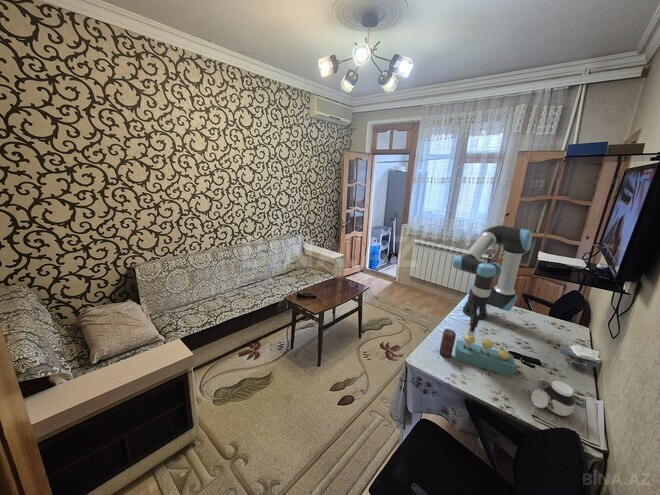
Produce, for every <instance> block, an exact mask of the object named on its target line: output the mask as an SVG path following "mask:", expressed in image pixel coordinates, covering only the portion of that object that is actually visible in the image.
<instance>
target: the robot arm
mask: <svg viewBox="0 0 660 495" xmlns="http://www.w3.org/2000/svg"><path fill="white" fill-rule="evenodd" d="M532 243H533V233H532V231H531V230H528V229H525V228H519V227H512V226H506V225H494V226H491V227H489V228H487V229H484V230H482V231H481V233H480V234H479V235H478V239H477V240H476V241H475V242H474V243H473V244H472V245H471V246H470V248H469V249H468V250H467V251H466V252H465V253H464V254H463V255H456V256H455V257H454V258H453V262H452V267H453V268H454V269H457V270H459V271H461V272H462V271H463V272H466V273H469V274H472V275H475V278H474V281H472V283H471V285H470V288H469V293H468V296H467V300H466V302H465V303H464V305H463V306H462V312H463V314H465V315H466V316H467V315H468V316H467V317H469V318H470V322H469V323H468V331H467V334H468V336H471V337H475V333H476V329H477V327H478V324H479V320H484V319H487V317H488V309H487V305H488V306H492V307H494V308H498V309H500V310H501V311H502V310H503V311H506V312H510V311H511V310H512V309H513V308H514V305H515V303H516V302H517V299H518V297H519V296H518V295H517V294H516V290H515V289H514V288H515V284H516V279H517V276H518V275H517V274H518V271H519V268H520V264H521V260H522V256H523V255H525V254H526V253H527V252H529V251H530V250H531V248H532ZM494 245H499V246H502V250H503V251H504V255H503V258H502V259H503V260H502V264H501V265H500V263H497V262H486V261H483V260H481V258H482V257H483V256H484V254H485V253H486V252H487V251H488V250H489V248H490V247H492V246H494ZM497 278H498V282H497V284H496V285H495V286H493V282H494V280H496V279H497ZM492 286H493V287H492ZM470 316H471V317H470Z"/></svg>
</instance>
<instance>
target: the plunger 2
mask: <svg viewBox="0 0 660 495" xmlns="http://www.w3.org/2000/svg"><path fill="white" fill-rule="evenodd" d="M497 351H498V356H499V359H502V360H505V361H506V360H508V359H509V356H510V354H511V353H509V352H508V351H507V350H504V349H499V350H497Z"/></svg>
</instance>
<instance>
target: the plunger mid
mask: <svg viewBox="0 0 660 495" xmlns="http://www.w3.org/2000/svg"><path fill="white" fill-rule="evenodd" d="M481 340H482V341H481V346H482V347H483V349H482V352H481V354H484V355H488V351H489V348H490V349H493V346H494V342H493V341H492V340H490V339H487V338H482V339H481Z"/></svg>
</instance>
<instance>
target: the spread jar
mask: <svg viewBox="0 0 660 495" xmlns="http://www.w3.org/2000/svg"><path fill="white" fill-rule="evenodd" d="M573 394H574V389H573V388H572V387H571V386H570V385H569V384H567V383H565V382H562V381H559V380H553V381H552V383H551V384H548V385H546V386H545V387H544V388H543V390H540V389H536V390H533V391H532V393H531V397H530V399H531V402H532V405H534V406H535V407H537V408H539V409H544V408H545V407H546V408H547V409H548V410H547V411H548V412H550V411H551V412H552V413H551V412H550V413H551V414H553V413H554V414H553V415H555V414H556V415H555V416H558V417H567V416H570V415H571V414H572V413H573V411H574V409H575V405H576V398H575V397H574V395H573ZM535 403H536V404H537V405H538V406H537V405H536V404H535ZM546 408H545V409H546Z"/></svg>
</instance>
